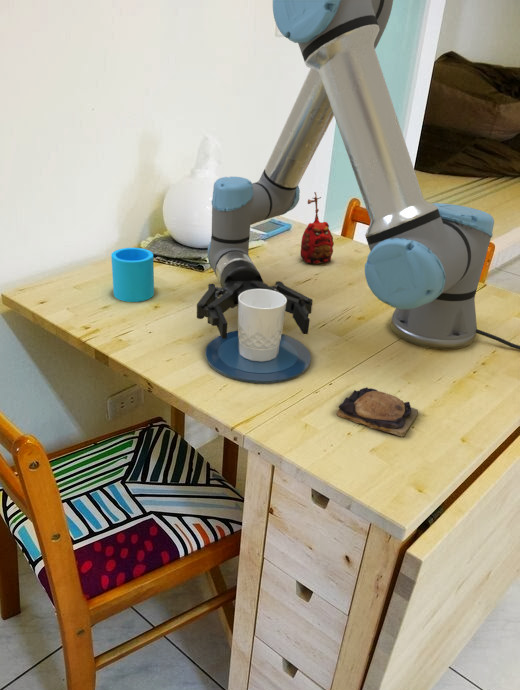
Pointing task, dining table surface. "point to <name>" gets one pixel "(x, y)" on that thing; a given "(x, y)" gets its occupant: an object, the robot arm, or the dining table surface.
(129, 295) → the mug
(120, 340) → the dining table surface
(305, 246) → the red clay folk toy
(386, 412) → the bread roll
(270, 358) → the white cup
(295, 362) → the plate
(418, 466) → the dining table surface
